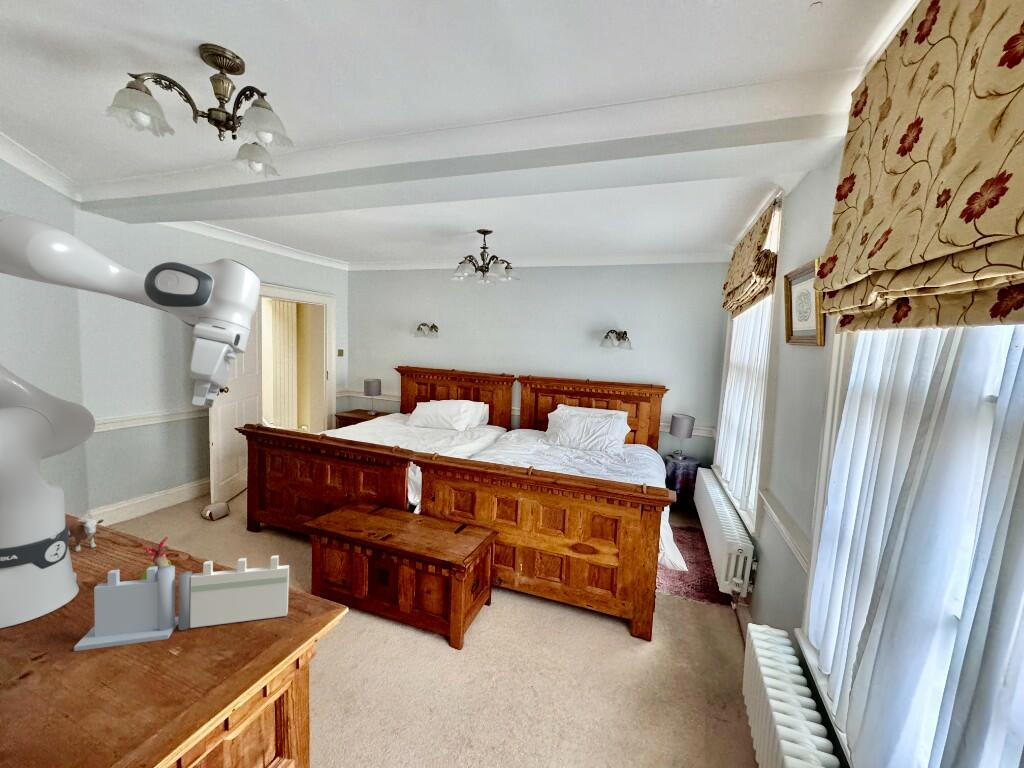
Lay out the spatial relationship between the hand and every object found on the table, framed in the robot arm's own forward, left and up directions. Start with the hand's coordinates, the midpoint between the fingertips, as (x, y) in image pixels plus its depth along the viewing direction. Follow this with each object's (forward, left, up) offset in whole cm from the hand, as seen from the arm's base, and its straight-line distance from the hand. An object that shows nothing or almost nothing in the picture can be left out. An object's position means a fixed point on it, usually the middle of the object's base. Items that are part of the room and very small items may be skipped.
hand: (202, 406), depth 79 cm
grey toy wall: (-6, -9, -41) cm, 42 cm away
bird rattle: (-11, +5, -41) cm, 43 cm away
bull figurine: (-41, +19, -41) cm, 61 cm away
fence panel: (+10, -5, -41) cm, 42 cm away
